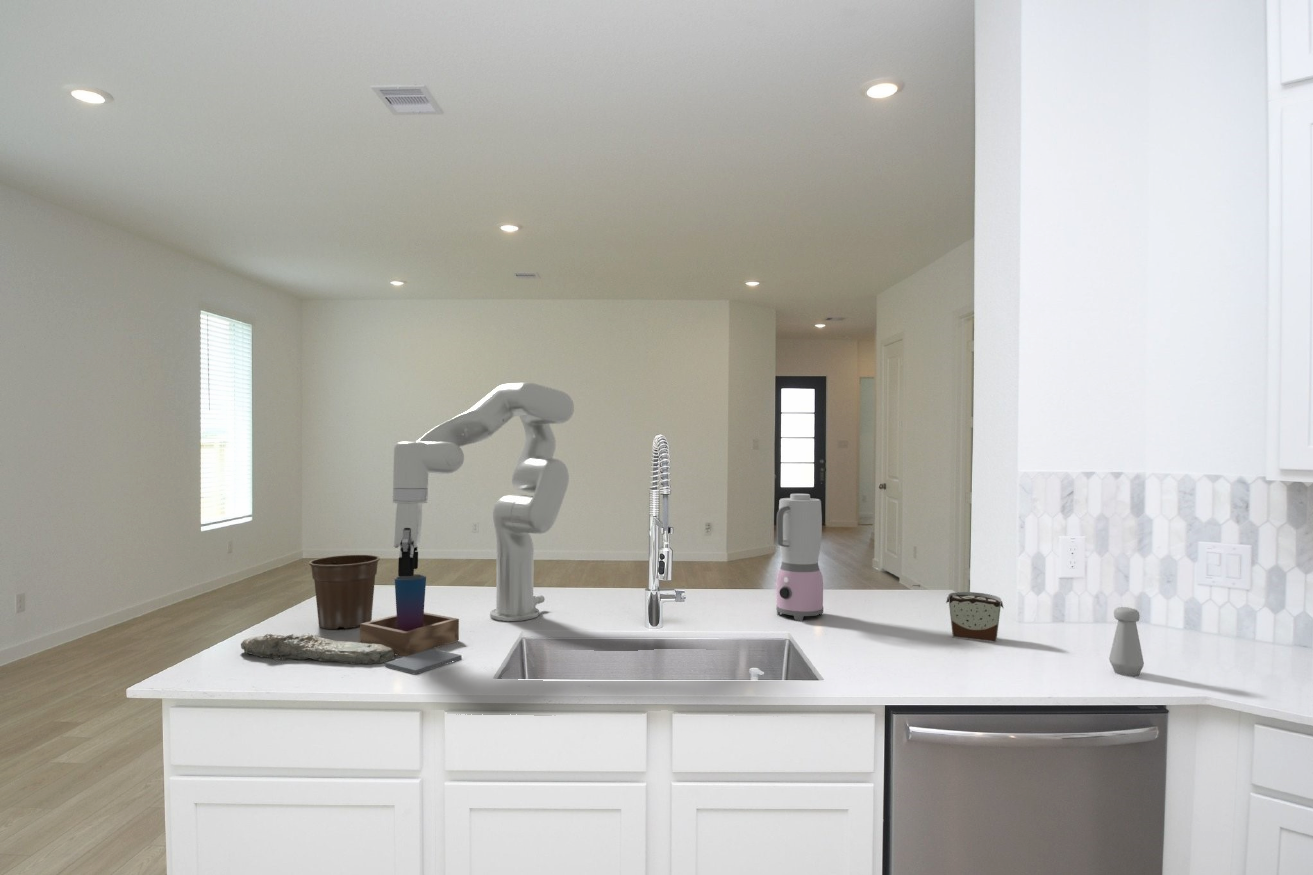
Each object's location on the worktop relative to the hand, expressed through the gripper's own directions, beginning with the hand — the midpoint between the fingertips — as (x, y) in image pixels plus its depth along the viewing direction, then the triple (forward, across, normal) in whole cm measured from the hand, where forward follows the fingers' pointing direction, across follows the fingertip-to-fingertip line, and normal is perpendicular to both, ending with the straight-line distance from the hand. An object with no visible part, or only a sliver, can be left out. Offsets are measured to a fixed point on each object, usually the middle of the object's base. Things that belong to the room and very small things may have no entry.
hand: (408, 572), depth 165 cm
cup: (+16, -1, +1) cm, 16 cm away
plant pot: (+16, -23, -17) cm, 33 cm away
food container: (+14, +21, +130) cm, 133 cm away
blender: (+14, -6, +97) cm, 98 cm away
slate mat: (+16, +15, +5) cm, 23 cm away
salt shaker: (+14, +52, +142) cm, 152 cm away
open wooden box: (+16, -1, +1) cm, 16 cm away
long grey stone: (+17, +5, -18) cm, 25 cm away
